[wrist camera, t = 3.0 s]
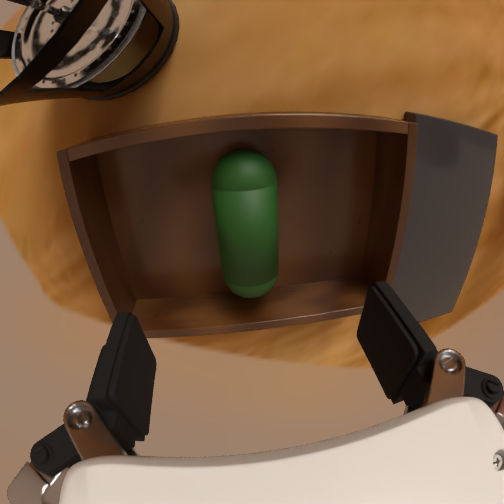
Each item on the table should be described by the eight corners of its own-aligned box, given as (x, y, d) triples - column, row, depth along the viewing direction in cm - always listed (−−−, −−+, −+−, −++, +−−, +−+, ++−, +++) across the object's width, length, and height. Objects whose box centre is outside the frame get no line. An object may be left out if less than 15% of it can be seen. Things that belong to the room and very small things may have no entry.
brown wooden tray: (382, 116, 17) (418, 123, 13) (364, 278, 24) (385, 309, 21) (87, 140, 16) (56, 152, 12) (132, 303, 23) (120, 338, 19)
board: (487, 131, 18) (497, 135, 16) (445, 304, 29) (451, 312, 27) (404, 111, 17) (415, 113, 16) (370, 324, 28) (376, 333, 27)
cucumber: (270, 142, 17) (282, 152, 14) (274, 274, 22) (283, 306, 19) (209, 147, 17) (205, 158, 14) (224, 279, 22) (226, 312, 19)
